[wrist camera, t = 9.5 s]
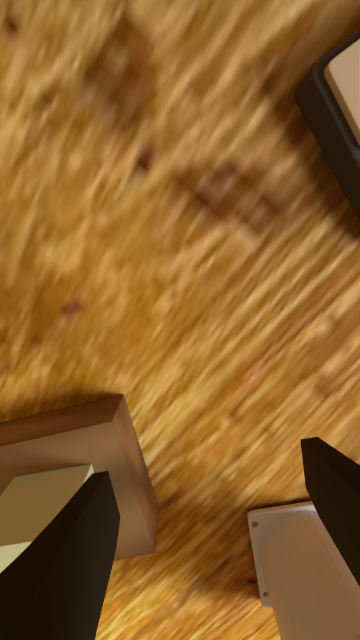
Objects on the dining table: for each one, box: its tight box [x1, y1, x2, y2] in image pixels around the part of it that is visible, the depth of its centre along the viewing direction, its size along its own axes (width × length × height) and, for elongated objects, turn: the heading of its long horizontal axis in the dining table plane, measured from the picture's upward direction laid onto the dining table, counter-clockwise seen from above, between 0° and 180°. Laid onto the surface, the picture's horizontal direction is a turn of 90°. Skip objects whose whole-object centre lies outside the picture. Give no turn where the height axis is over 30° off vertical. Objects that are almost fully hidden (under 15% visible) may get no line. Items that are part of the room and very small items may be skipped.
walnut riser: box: [0, 394, 159, 561], centre depth 21 cm, size 10×10×4 cm
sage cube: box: [0, 464, 94, 573], centre depth 17 cm, size 5×5×5 cm
